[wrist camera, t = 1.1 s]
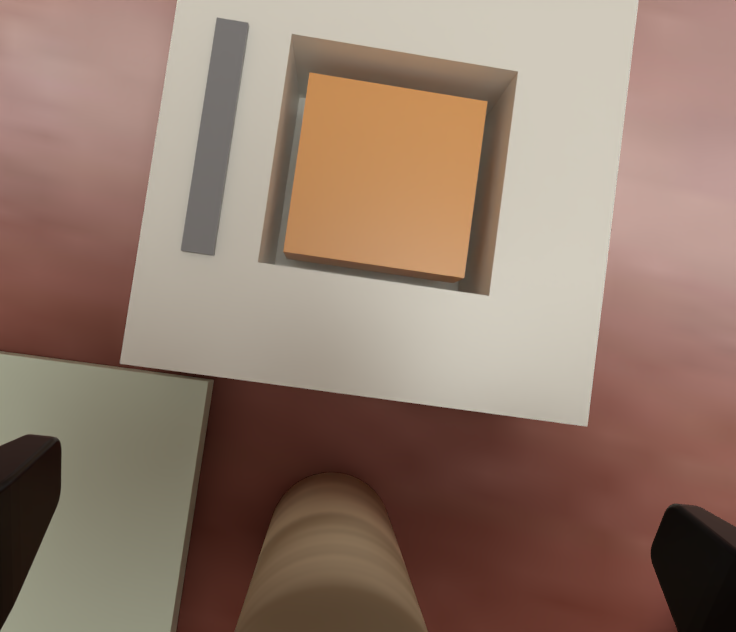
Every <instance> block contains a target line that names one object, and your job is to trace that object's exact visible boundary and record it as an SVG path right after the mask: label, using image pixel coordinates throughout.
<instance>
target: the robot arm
mask: <svg viewBox="0 0 736 632" xmlns="http://www.w3.org/2000/svg"><path fill="white" fill-rule="evenodd" d="M61 458H62V448H61V443H60V440H59V439H58V438H57V437H53V436H44V435H35V434H27V435H24V436H22V437H19V438H17V439H15V440H12V441H10V442H8V443H5V444H3V445H1V446H0V630H1V629H2V627H3V625H4V623H5V621H6V620H7V618H8V616H9V614H10V612H11V610H12V608H13V606H14V604H15V602H16V600H17V598H18V596H19V593H20V591H21V589H22V587H23V584H24V582H25V580H26V577H27V575H28V573H29V570H30V568H31V566H32V563H33V561H34V559H35V556H36V554H37V552H38V550H39V547H40V545H41V543H42V540H43V538H44V536H45V533H46V531H47V529H48V526H49V524H50V522H51V519H52V517H53V515H54V512H55V510H56V508H57V505H58V502H59V498H60V494H61ZM651 560H652V564H653V567H654V569H655V572H656V575H657V577H658V580H659V583H660V585H661V588H662V591H663V593H664V596H665V599H666V601H667V604H668V606H669V609H670V612H671V614H672V617H673V620H674V622H675V625H676V628H677V630H678V632H736V527H735V526H733V525H731V524H730V523H728V522H726V521H724V520H722V519H721V518H719V517H717V516H715V515H714V514H712V513H710V512H708V511H706V510H705V509H703V508H701V507H698V506H694V505H685V504H672V505H670V506H669V507H668V508H667V509H666V511H665V513H664V516H663V518H662V521H661V523H660V526H659V528H658V531H657V533H656V536H655V538H654V541H653V543H652V547H651Z"/></svg>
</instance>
